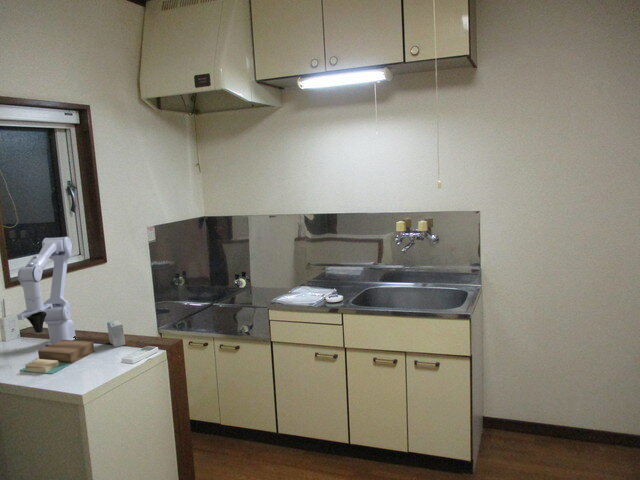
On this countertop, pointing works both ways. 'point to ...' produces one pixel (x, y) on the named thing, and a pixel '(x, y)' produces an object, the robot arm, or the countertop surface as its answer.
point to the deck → (67, 351)
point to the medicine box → (116, 333)
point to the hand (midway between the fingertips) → (38, 332)
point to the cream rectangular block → (42, 365)
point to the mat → (61, 366)
